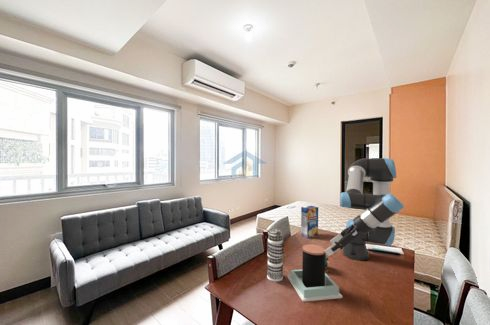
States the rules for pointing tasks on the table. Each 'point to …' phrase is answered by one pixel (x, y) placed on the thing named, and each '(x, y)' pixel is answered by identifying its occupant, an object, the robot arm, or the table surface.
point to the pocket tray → (314, 288)
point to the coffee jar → (313, 266)
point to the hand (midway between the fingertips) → (329, 248)
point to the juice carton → (309, 221)
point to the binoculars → (326, 263)
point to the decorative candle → (275, 255)
